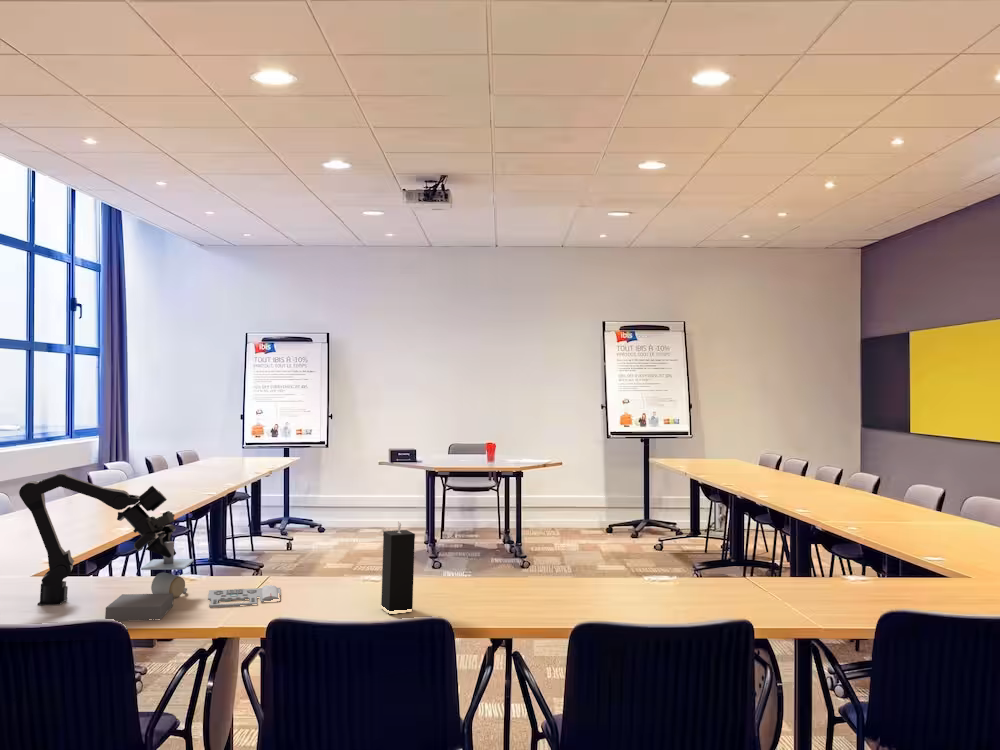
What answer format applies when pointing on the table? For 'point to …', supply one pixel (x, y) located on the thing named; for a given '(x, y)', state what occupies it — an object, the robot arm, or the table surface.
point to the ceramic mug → (168, 584)
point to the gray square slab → (139, 607)
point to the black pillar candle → (398, 569)
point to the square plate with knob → (168, 561)
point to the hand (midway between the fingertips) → (172, 555)
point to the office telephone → (243, 595)
